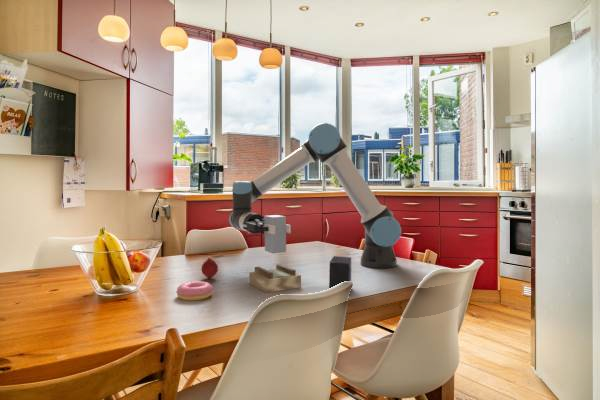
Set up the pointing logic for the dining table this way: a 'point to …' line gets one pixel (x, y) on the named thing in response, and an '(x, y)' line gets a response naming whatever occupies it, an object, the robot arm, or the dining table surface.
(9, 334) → the dining table surface
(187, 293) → the doughnut
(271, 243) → the tall grey prism
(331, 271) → the small box
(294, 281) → the stand
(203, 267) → the onion
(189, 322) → the dining table surface
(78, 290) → the dining table surface
